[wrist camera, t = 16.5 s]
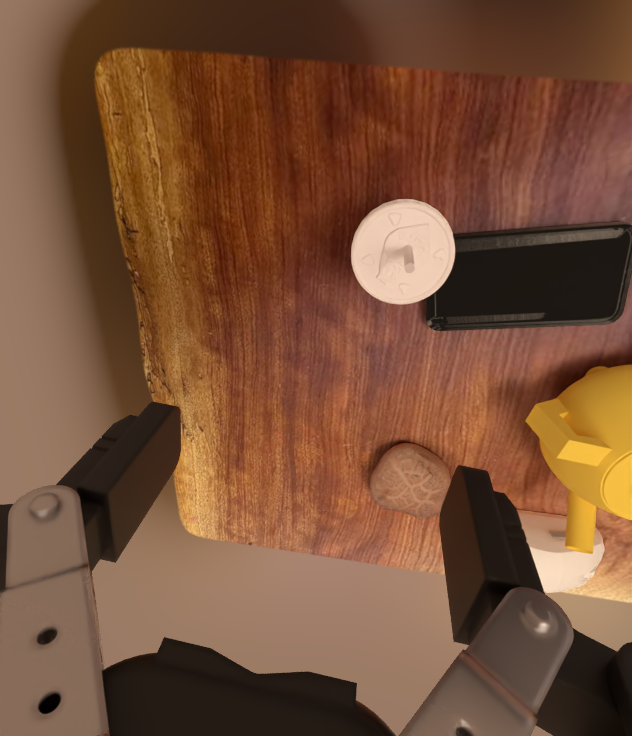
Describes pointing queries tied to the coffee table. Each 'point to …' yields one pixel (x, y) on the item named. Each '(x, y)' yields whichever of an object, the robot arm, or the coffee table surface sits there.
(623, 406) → the teapot
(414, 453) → the mushroom
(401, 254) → the smoothie
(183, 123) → the coffee table surface
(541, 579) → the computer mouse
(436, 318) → the phone
